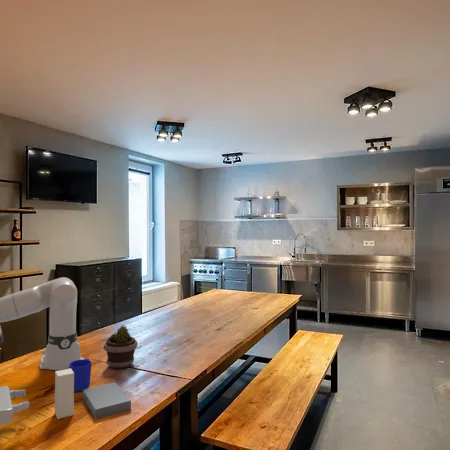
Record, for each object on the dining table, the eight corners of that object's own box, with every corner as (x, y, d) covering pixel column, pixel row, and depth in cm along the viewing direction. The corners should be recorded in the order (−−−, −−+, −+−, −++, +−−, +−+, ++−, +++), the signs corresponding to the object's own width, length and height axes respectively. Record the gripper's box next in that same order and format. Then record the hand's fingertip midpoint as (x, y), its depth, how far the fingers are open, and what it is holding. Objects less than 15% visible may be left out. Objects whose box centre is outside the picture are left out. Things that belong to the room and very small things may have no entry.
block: (54, 412, 127) (55, 371, 127) (70, 408, 130) (70, 368, 130) (57, 418, 123) (57, 376, 123) (73, 414, 126) (74, 373, 126)
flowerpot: (102, 362, 175) (102, 319, 175) (135, 358, 180) (136, 316, 180) (103, 373, 161) (104, 327, 161) (139, 369, 167) (140, 324, 167)
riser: (82, 397, 139) (82, 389, 139) (114, 390, 145) (115, 382, 145) (95, 418, 124) (95, 409, 124) (130, 409, 130) (130, 400, 130)
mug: (97, 380, 154) (97, 355, 154) (87, 393, 142) (87, 366, 142) (76, 380, 154) (77, 356, 154) (65, 393, 142) (65, 367, 142)
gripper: (-25, 406, 121) (23, 395, 129) (-25, 435, 104) (31, 421, 112) (-25, 386, 121) (23, 377, 129) (-25, 413, 104) (31, 400, 112)
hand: (27, 398), depth 120 cm, fingers open, 8 cm apart
